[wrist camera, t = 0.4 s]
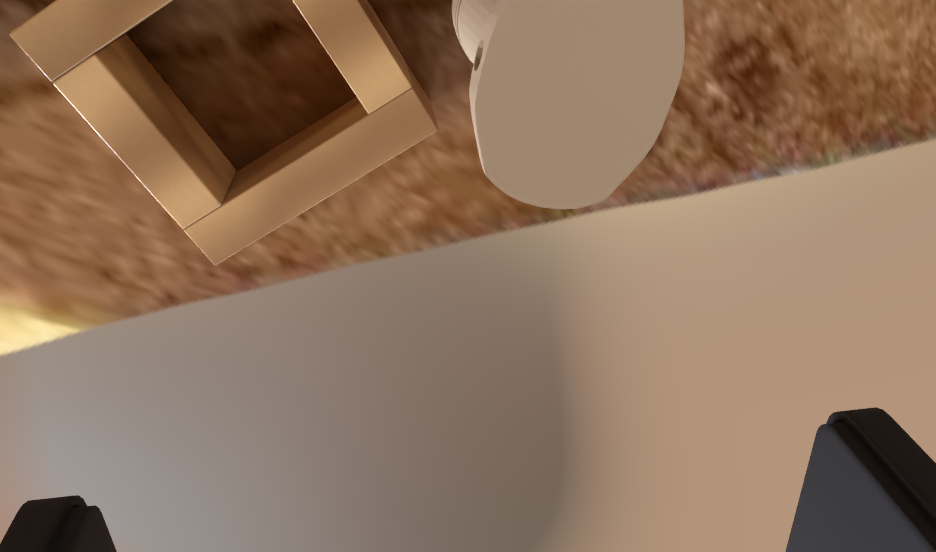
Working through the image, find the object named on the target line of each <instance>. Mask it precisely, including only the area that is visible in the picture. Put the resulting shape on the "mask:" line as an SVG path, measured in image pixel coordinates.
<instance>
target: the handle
mask: <svg viewBox="0 0 936 552" xmlns="http://www.w3.org/2000/svg"><path fill="white" fill-rule="evenodd" d="M451 1H452V19H453V24H454V28H455V31H456V35H457V38H458V40H459V42H460V44H461V46H462V48H463V50H464V52H465V53H466V55H467V56H468V58H469V59H470V60H471V62H472V63H473V64H474V65H473V70H472V75H471V81H470V88H469V96H470V105H471V114H472V120H473V126H474V132H475V137H476V142H477V147H478V151H479V156H480V160H481V164H482V167H483V170H484V172H485V175H486V176H487V177H488V178H489V179H490V181H491V182H492V183H493V184H494V185H495V186H496V187H498V188H499V189H500V190H502V191H503V192H504V193H505V194H507V195H509V196H511V197H513V198H515V199H517V200H519V201H521V202H524V203H528V204H531V205H535V206H538V207H544V208H552V209H577V208H581V207H585V206H589V205H593V204H595V203H598V202H601V201H603V200H605V199H606V198H607V197H608V196H609V195H610V194H611V193H612V192H613V191H614V190H615V189H616V188H617V187H618V186H619V185H620V184H621V183H622V182H623V180H624V179H625V178H626V177H627V176H628V175H629V174H630V173H631V172H632V171H633V170H634V169H635V168H636V166H637V165H638V164H639V163H640V162H641V161H642V160H643V158H644V157H645V156H646V154H647V153H648V152H649V150H650V149H651V148H652V146H653V145H654V143H655V141H656V139H657V137H658V135H659V133H660V131H661V129H662V126H663V124H664V121H665V119H666V116H667V113H668V111H669V108H670V106H671V103H672V100H673V98H674V95H675V93H676V90H677V87H678V84H679V80H680V77H681V73H682V69H683V61H684V49H685V43H684V14H683V0H451Z"/></svg>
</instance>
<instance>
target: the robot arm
mask: <svg viewBox="0 0 936 552" xmlns="http://www.w3.org/2000/svg"><path fill="white" fill-rule="evenodd" d="M0 552H116V549H115V546H114V544H113V541H112V538H111V536H110V533H109V531H108V528H107V526H106V523H105V520H104V518H103V515H102V513H101V511H100V509H99V508H98V507H97V506H87V505H86V503H85V501H84V499H83V498H81V497H80V496H68V497H58V498H49V499H40V500H31V501H27V502H26V503H25V504H23V505H22V506H21V508H20V509H19V511H18V512H17V514H16V516H15V518H14V520H13V521H12V523H11V525H10V527H9V529H8V531H7V532H6V534H5V536H4V538H3V540H2V542H1V544H0ZM786 552H936V463H935V462H934V461H933V460H932V459H931V458H930V457H929V456H928V455H927V454H926V453H925V452H924V451H923V450H922V449H921V447H920V446H919V445H918V444H917V443H916V442H915V441H914V440H913V439H912V438H911V437H910V436H909V435H908V434H907V433H906V432H905V431H904V430H903V429H902V428H901V427H900V426H899V425H898V424H897V423H896V422H895V421H894V420H893V418H892V417H891V416H890V415H888V414H887V413H886V412H885V411H884V410H882V409H879V408H867V409H858V410H849V411H840V412H834V413H833V414H831V415H830V416H829V418H828V421H827V423H826V424H823V425H821V426H820V427H819V428H818V430H817V433H816V437H815V441H814V445H813V448H812V452H811V456H810V460H809V464H808V467H807V471H806V475H805V479H804V483H803V487H802V491H801V494H800V498H799V502H798V506H797V510H796V514H795V518H794V521H793V525H792V529H791V533H790V537H789V541H788V544H787V548H786Z"/></svg>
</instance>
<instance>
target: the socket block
mask: <svg viewBox="0 0 936 552" xmlns="http://www.w3.org/2000/svg"><path fill="white" fill-rule="evenodd" d="M172 1H173V0H55V1H54V2H53V3H51V4H50V5H48V6H47V7H45V8H44V9H43V10H41V11H40V12H38V13H37V14H35V15H34V16H33V17H31V18H30V19H28V20H27V21H26V22H24V23H23V24H21V25H20V26H18V27H17V28H16V29H14V30H13V31H11V32H10V33H9V35H10V36H11V37H12V39H13V40H14V41H15V42H16V43H17V44H18V45H19V46H20V48H21V49H22V50H23V51H24V52H25V53H26V54H27V55H28V57H29V58H30V59H31V60H32V61H33V62H34V63H35V64H36V65H37V67H38V68H39V69H40V70H41V71H42V72H43V73H44V74H45V76H46V77H47V78H48V79H49V80H50V81H51V82H53V81H54V82H53V84H54V86H55V87H56V88H57V89H58V90H59V91H60V92H61V93H62V94H63V96H64V97H65V98H66V99H67V100H68V101H69V102H70V103H71V105H72V106H73V107H74V108H75V109H76V110H77V111H78V112H79V114H80V115H81V116H82V117H83V118H84V119H85V120H86V121H87V122H88V124H89V125H90V126H91V127H92V128H93V129H94V130H95V131H96V133H97V134H98V135H99V136H100V137H101V138H102V139H103V140H104V142H105V143H106V144H107V145H108V146H109V147H110V148H111V149H112V150H113V152H114V153H115V154H116V155H117V156H118V157H119V158H120V159H121V161H122V162H123V163H124V164H125V165H126V166H127V167H128V168H129V169H130V171H131V172H132V173H133V174H134V175H135V176H136V177H137V178H138V180H139V181H140V182H141V183H142V184H143V185H144V186H145V187H146V189H147V190H148V191H149V192H150V193H151V194H152V195H153V196H154V197H155V199H156V200H157V201H158V202H159V203H160V204H161V205H162V206H163V208H164V209H165V210H166V211H167V212H168V213H169V214H170V215H171V217H172V218H173V219H174V220H175V221H176V222H177V223H178V224H179V225H180V227H181V228H183V229H184V231H185V232H186V234H187V235H188V236H189V237H190V238H191V239H192V240H193V241H194V243H195V244H196V245H197V246H198V247H199V248H200V249H201V250H202V251H203V253H204V254H205V255H206V256H207V257H208V258H209V259H210V260H211V262H212V263H213V264H214V265H217V264H219V263H221V262H222V261H224V260H226V259H227V258H229V257H231V256H232V255H234V254H236V253H237V252H239V251H240V250H242V249H244V248H245V247H247V246H249V245H250V244H252V243H254V242H255V241H257V240H259V239H260V238H262V237H263V236H265V235H267V234H268V233H270V232H272V231H273V230H275V229H277V228H278V227H280V226H282V225H283V224H285V223H287V222H288V221H290V220H291V219H293V218H295V217H296V216H298V215H300V214H301V213H303V212H305V211H306V210H308V209H310V208H311V207H313V206H314V205H316V204H318V203H319V202H321V201H323V200H324V199H326V198H328V197H329V196H331V195H333V194H334V193H336V192H338V191H339V190H341V189H342V188H344V187H346V186H347V185H349V184H351V183H352V182H354V181H356V180H357V179H359V178H361V177H362V176H364V175H365V174H367V173H369V172H370V171H372V170H374V169H375V168H377V167H379V166H380V165H382V164H384V163H385V162H387V161H389V160H390V159H392V158H393V157H395V156H397V155H398V154H400V153H402V152H403V151H405V150H407V149H408V148H410V147H412V146H413V145H415V144H416V143H418V142H420V141H421V140H423V139H425V138H426V137H428V136H430V135H431V134H433V133H435V132H436V131H438V126H437V123H436V119H435V116H434V112H433V109H432V106H431V102H430V101H429V99H428V97H427V96H426V94H425V92H424V91H423V89H422V88H421V86H420V84H419V83H418V81H417V79H416V78H415V76H414V75H413V73H412V71H411V70H410V68H409V67H408V65H407V63H406V62H405V60H404V58H403V57H402V55H401V54H400V52H399V50H398V49H397V47H396V45H395V44H394V42H393V41H392V39H391V37H390V36H389V34H388V33H387V31H386V29H385V28H384V26H383V24H382V23H381V21H380V20H379V18H378V16H377V15H376V13H375V11H374V10H373V8H372V7H371V5H370V3H369V2H368V0H292V1H293V2H294V4H295V5H296V7H297V8H298V10H299V11H300V13H301V14H302V16H303V17H304V19H305V20H306V22H307V23H308V25H309V26H310V28H311V29H312V31H313V32H314V34H315V35H316V37H317V38H318V40H319V41H320V42H321V44H322V45H323V47H324V48H325V50H326V51H327V53H328V54H329V56H330V57H331V59H332V60H333V62H334V63H335V65H336V66H337V68H338V69H339V71H340V72H341V74H342V75H343V77H344V78H345V80H346V81H347V83H348V84H349V86H350V87H351V89H352V90H353V92H354V93H355V95H356V97H355V98H353V99H351V100H350V101H348V102H347V103H345V104H343V105H342V106H340V107H339V108H337V109H335V110H334V111H332V112H331V113H329V114H327V115H326V116H324V117H323V118H321V119H320V120H318V121H316V122H315V123H313V124H312V125H310V126H308V127H307V128H305V129H304V130H302V131H300V132H299V133H297V134H296V135H294V136H292V137H291V138H289V139H288V140H286V141H284V142H283V143H281V144H280V145H278V146H277V147H275V148H273V149H272V150H270V151H269V152H267V153H265V154H264V155H262V156H261V157H259V158H257V159H256V160H254V161H253V162H251V163H249V164H248V165H246V166H245V167H243V168H241V169H240V170H238V171H237V172H236V169H235V168H234V167H233V165H232V164H231V163H230V162H229V160H228V159H227V158H226V157H225V155H224V154H223V153H222V152H221V150H220V149H219V148H218V147H217V146H216V144H215V143H214V142H213V141H212V139H211V138H210V137H209V136H208V134H207V133H206V132H205V131H204V129H203V128H202V127H201V126H200V124H199V123H198V122H197V121H196V120H195V118H194V117H193V116H192V115H191V113H190V112H189V111H188V110H187V108H186V107H185V106H184V105H183V103H182V102H181V101H180V100H179V98H178V97H177V96H176V95H175V94H174V92H173V91H172V90H171V89H170V87H169V86H168V85H167V84H166V82H165V81H164V80H163V79H162V77H161V76H160V75H159V74H158V72H157V71H156V70H155V69H154V68H153V66H152V65H151V64H150V63H149V61H148V60H147V59H146V58H145V56H144V55H143V54H142V53H141V51H140V50H139V49H138V48H137V46H136V45H135V44H134V43H133V42H132V40H131V39H130V38H129V37H128V35H127V34H125V33H126V32H128V31H129V30H131V29H132V28H134V27H135V26H137V25H138V24H140V23H141V22H143V21H144V20H145V19H147V18H148V17H150V16H151V15H153V14H154V13H156V12H157V11H159V10H160V9H162V8H163V7H165V6H166V5H167V4H169V3H170V2H172Z"/></svg>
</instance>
